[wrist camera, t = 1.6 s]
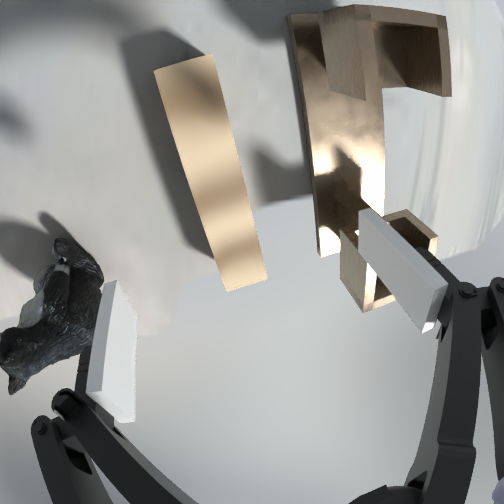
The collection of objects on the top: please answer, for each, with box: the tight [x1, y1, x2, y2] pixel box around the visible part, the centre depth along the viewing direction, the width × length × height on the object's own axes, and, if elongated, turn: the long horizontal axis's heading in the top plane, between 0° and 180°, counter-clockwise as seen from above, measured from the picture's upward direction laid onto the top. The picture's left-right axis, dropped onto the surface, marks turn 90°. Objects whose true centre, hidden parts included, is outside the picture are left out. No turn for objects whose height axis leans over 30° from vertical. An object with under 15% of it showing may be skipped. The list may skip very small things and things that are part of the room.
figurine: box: [0, 238, 104, 395], centre depth 23 cm, size 10×10×15 cm
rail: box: [154, 54, 268, 292], centre depth 25 cm, size 20×4×5 cm, turn 12°
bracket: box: [287, 4, 452, 313], centre depth 24 cm, size 25×8×10 cm, turn 11°
